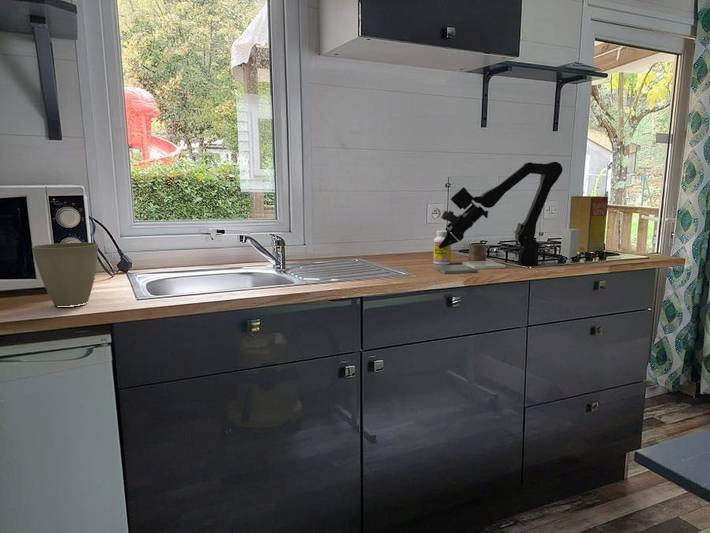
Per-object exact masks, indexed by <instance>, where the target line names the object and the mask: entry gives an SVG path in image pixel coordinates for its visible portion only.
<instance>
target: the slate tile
mask: <svg viewBox="0 0 710 533" xmlns="http://www.w3.org/2000/svg"><path fill="white" fill-rule="evenodd" d="M432 268H433V269H434V270H435V271H437V272H440V273H441V274H444V275H452V274H454V273H456V274H475V273H476V274H477V273H478V269H474V268H472V267H469V266H466V265H463V264H448V265H433V266H432Z"/></svg>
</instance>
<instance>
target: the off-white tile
mask: <svg viewBox="0 0 710 533" xmlns="http://www.w3.org/2000/svg"><path fill="white" fill-rule="evenodd" d="M461 265H466V266H469V267H472V268H474V269H477V270H486V269H487V270H488V269H505V268H506V264H503V263H500V262H497V261H493V260H486V261H469V260H468V261H461Z"/></svg>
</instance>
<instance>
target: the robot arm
mask: <svg viewBox="0 0 710 533" xmlns="http://www.w3.org/2000/svg"><path fill="white" fill-rule="evenodd" d="M562 173H563V166H562V164H561V162H557V161H551V162H547V163H537V162H536V163H535V162H531V161H530V162H525V163H523V165H522V166H520V167H519V168H518V169H517V170H515V171H514V172H513V173H512V174H511V175H509V176H508V177H507V178H505V179H504V180H503V181H502V182H501V183H499V184H498V185H496V186H494V187H492V188H491V189H489V190H487V191H485V192H483V193H481V194H480V195H479V196H473V195H472V194H471V193H470V192H469V191H468V190H467V188H465V187H463V186H462V188H461V189H459V190H458V192H455V194H453V195H452V196H451V197H450V199H449V200H450V201H451V202H452V203H453V204H454V205H455V206H456V207H457V208H458V209H459V210H462V209H463V210H464V212H463V213H462V214H459V215H455V214H454V213H455V212H454V211H451V210H444V211H443V212H442V214H441V216H440V218H441V219H442V220H445V221H447V222H449V223H448V224H446V227H445V231H447V236H446V237H445V238H444V240H443V241H442V242H441V244H440V245H439V248H440V249H441V248H444V247H446V246H449V245H451V246H452V245H454V244H457V243H459V242H461V241H462V240H463V239H464V238H465V237H464V234H465V233H466V232H467V231H468V230H469V229H470V228H472V227H473V225H474V224H475V223H476V222H477V221H478V220H479V219H480V218H482V217H483V218H485V219H488V218H489V211H488V210H485V209H484V208H487V209H489V208H490V209H492V208H493V207H494V206H495V205H496V204H497V203H498V202H499V201H500V200H501V198H502V197H503V196H504V195H505V193H507V192H509V191H510V190H511V189H512V188H513V187H515V185H517V184H518V183H520V182H521V181H523V179H525V178H526V177H527V176H529V175H530V174H531V175H532V174H535V175H540V177H539V185H538V188H537V190H536V193H535V195H534V198H533V200H532V202H531V205H530V208H529V209H528V211H527V215H526V217H525V220H524V221H523V222H522V223H520V222H518V223H517V227H516V230H515V231H514V232H513V233H514V239H515V241H516V242H517V243H518V244H519V246H520V248H519V251H518V253H517V262H516V264H519V265H520V266H525V267H529V266H531V267H533V266H541V263H539V257H540V256H539V254H540V246H541V244H540V243H539V242H538V241H537V240H536V239H535V235H536V230H537V224H538V223H537V222H538V220H539V218H540V215H541V214H542V210H543V208H544V206H545V203H546V201H547V198H548V197H549V194H550V191H551V189H552V187H554V185H555V183H556V182H557V181H558V180H559V178H560V177H561V174H562ZM476 204H480V205H478V206H477V205H476Z"/></svg>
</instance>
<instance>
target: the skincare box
mask: <svg viewBox="0 0 710 533" xmlns="http://www.w3.org/2000/svg"><path fill="white" fill-rule="evenodd" d="M578 236H579V229H569V228H566V229H562V230H561V238H560V242H561V244H560V251H559V252H560V253H559V254H560V255H562V256H565V257H567V258H568V259H567V260H572V259H571V258H572V257H575V256H577V257H578V253H577V250H578Z"/></svg>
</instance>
